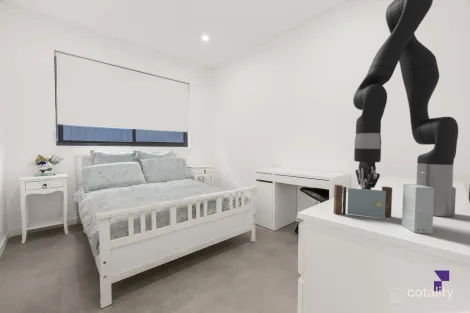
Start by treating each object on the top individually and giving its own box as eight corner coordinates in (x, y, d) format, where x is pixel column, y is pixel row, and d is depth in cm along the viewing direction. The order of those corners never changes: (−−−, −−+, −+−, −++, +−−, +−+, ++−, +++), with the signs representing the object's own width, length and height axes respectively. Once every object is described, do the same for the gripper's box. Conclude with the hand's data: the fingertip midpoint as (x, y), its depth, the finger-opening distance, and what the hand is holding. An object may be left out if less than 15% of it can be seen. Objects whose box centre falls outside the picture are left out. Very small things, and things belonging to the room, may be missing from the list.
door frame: (387, 215, 70) (388, 186, 70) (391, 217, 68) (392, 187, 68) (333, 212, 73) (334, 184, 73) (335, 214, 71) (336, 185, 71)
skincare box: (433, 234, 55) (435, 187, 54) (414, 232, 55) (416, 187, 55) (418, 226, 60) (419, 184, 60) (400, 225, 61) (402, 183, 61)
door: (384, 217, 67) (385, 190, 67) (385, 219, 65) (386, 191, 65) (347, 213, 71) (348, 187, 71) (347, 214, 70) (348, 188, 70)
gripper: (391, 147, 64) (388, 204, 64) (370, 147, 77) (368, 195, 77) (363, 147, 65) (361, 203, 66) (348, 147, 78) (346, 194, 79)
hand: (365, 199), depth 71 cm, fingers closed
